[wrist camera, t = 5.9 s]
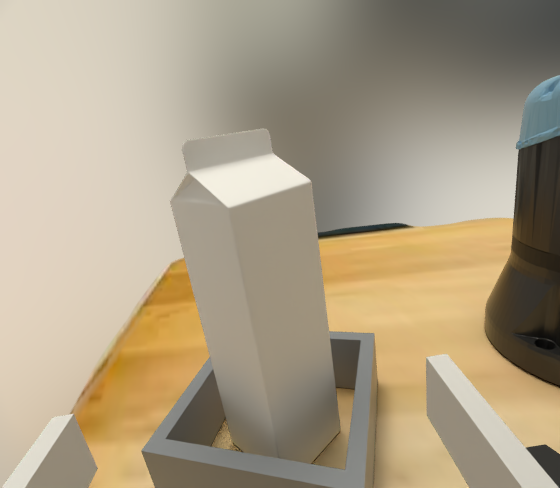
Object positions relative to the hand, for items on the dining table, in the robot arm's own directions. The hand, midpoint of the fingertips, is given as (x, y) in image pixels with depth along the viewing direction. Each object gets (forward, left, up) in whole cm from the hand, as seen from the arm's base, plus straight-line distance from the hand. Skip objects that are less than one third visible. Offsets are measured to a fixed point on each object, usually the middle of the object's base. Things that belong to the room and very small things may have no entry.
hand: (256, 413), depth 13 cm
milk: (+3, -9, -12) cm, 16 cm away
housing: (+3, -9, -12) cm, 15 cm away
